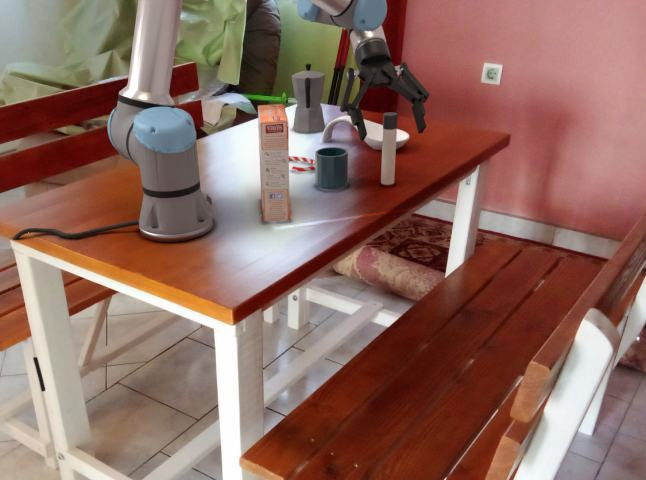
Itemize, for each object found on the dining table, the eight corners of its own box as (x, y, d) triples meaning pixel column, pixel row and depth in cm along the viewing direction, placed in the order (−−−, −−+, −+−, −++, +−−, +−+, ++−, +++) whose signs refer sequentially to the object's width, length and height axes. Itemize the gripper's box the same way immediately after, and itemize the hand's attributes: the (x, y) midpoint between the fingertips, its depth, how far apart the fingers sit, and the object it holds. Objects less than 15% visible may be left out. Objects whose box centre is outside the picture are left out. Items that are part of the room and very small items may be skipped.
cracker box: (291, 221, 148) (289, 119, 137) (262, 223, 148) (257, 121, 137) (287, 198, 160) (285, 102, 149) (261, 199, 160) (256, 104, 149)
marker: (383, 187, 162) (386, 116, 154) (378, 183, 165) (381, 113, 156) (396, 186, 163) (400, 114, 154) (391, 181, 165) (394, 111, 157)
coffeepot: (293, 123, 213) (292, 59, 203) (325, 122, 212) (325, 58, 202) (291, 138, 200) (289, 70, 190) (325, 137, 199) (325, 69, 189)
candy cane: (282, 151, 186) (326, 161, 176) (282, 156, 186) (326, 166, 177) (261, 158, 181) (305, 170, 172) (261, 163, 182) (305, 175, 173)
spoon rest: (415, 144, 188) (417, 117, 185) (398, 157, 180) (400, 129, 176) (334, 135, 200) (334, 109, 196) (314, 147, 191) (314, 120, 187)
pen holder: (321, 193, 162) (321, 158, 157) (311, 183, 168) (311, 149, 163) (351, 189, 163) (352, 154, 159) (341, 179, 169) (341, 145, 165)
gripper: (320, 43, 154) (343, 131, 150) (428, 33, 159) (453, 117, 154) (313, 65, 162) (334, 149, 157) (416, 54, 166) (440, 136, 161)
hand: (393, 134), depth 155 cm, fingers open, 13 cm apart
